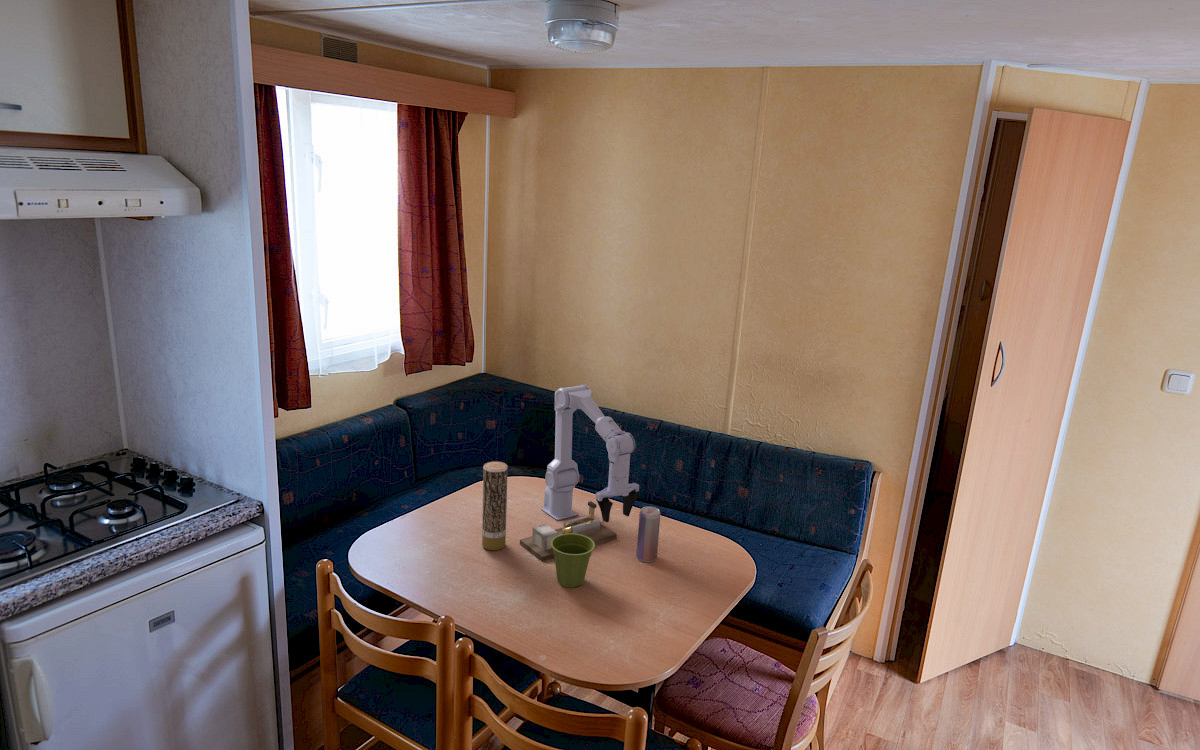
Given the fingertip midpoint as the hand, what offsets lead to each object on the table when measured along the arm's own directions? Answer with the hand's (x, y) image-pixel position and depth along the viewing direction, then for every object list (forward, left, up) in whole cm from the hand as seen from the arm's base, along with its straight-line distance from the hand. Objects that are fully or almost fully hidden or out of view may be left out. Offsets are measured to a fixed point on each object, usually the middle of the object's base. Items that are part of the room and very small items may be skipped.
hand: (615, 518), depth 218 cm
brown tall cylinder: (-20, -29, -10) cm, 37 cm away
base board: (-11, -9, -10) cm, 17 cm away
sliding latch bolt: (-11, -5, -8) cm, 14 cm away
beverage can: (+9, +5, -10) cm, 15 cm away
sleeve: (-11, -4, -9) cm, 15 cm away
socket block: (-11, -17, -9) cm, 22 cm away
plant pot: (+8, -21, -10) cm, 25 cm away
